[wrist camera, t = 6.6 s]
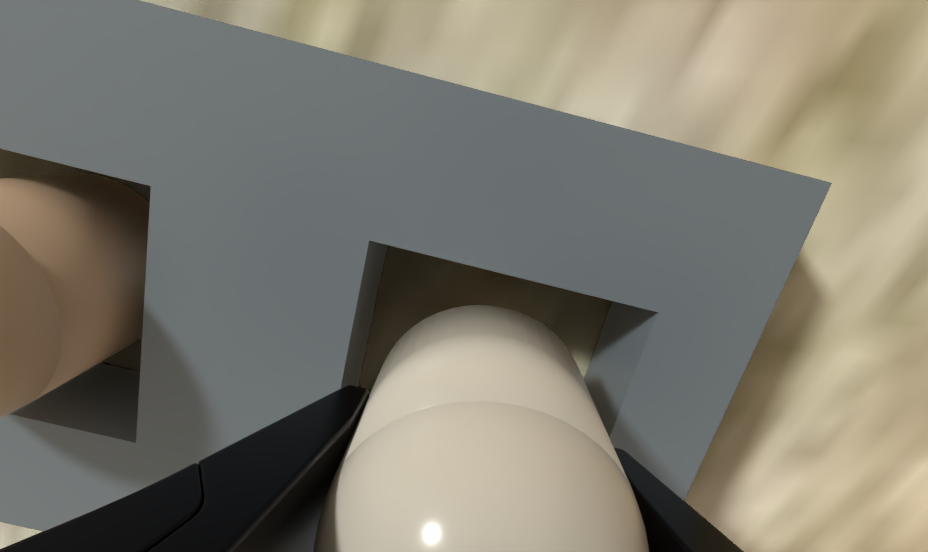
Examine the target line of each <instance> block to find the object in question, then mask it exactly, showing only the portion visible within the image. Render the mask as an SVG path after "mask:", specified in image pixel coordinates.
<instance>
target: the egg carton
mask: <svg viewBox="0 0 928 552" xmlns="http://www.w3.org/2000/svg"><path fill="white" fill-rule="evenodd" d="M0 149H4V150H8V151H12V152H16V153H20V154H24V155H28V156H32V157H36V158H40V159H44V160H48V161H52V162H56V163H60V164H64V165H68V166H72V167H76V168H80V169H84V170H88V171H92V172H96V173H100V174H104V175H108V176H112V177H116V178H120V179H124V180H128V181H132V182H136V183H140V184H144V185H148V186H151V190H150V203H149V202H148V201H146V200H145V199H144V198H143V197H142V196H140V195H139V194H138V193H136V192H135V191H133V190H132V189H130V188H128V187H127V186H125V185H123V184H121V183H119V182H116V181H114V180H112V179H109V178H106V177H102V176H99V175H93V174H86V173H70V174H56V175H42V176H28V177H15V178H1V179H0V522H3V523H8V524H12V525H17V526H21V527H26V528H30V529H35V530H40V531H46V530H48V529H50V528H53V527H55V526H58V525H60V524H62V523H65V522H67V521H70V520H72V519H74V518H77V517H79V516H82V515H84V514H86V513H89V512H91V511H93V510H96V509H98V508H100V507H103V506H105V505H107V504H109V503H112V502H114V501H116V500H119V499H121V498H123V497H125V496H128V495H130V494H132V493H135V492H137V491H139V490H141V489H143V488H145V487H147V486H149V485H151V484H153V483H155V482H157V481H159V480H162V479H164V478H166V477H168V476H170V475H172V474H174V473H176V472H178V471H180V470H182V469H184V468H186V467H188V466H189V465H191V464H193V463H197V464H198V462H199V461H200V460H202V459H204V458H206V457H207V456H209V455H211V454H213V453H215V452H217V451H219V450H221V449H223V448H225V447H227V446H229V445H231V444H233V443H235V442H237V441H239V440H241V439H243V438H245V437H247V436H249V435H251V434H252V433H254V432H256V431H258V430H260V429H262V428H264V427H266V426H268V425H270V424H272V423H274V422H276V421H278V420H280V419H282V418H284V417H286V416H288V415H290V414H292V413H294V412H296V411H297V410H299V409H301V408H303V407H305V406H307V405H309V404H311V403H313V402H315V401H317V400H319V399H321V398H323V397H325V396H327V395H329V394H331V393H333V392H335V391H337V390H339V389H340V388H342V387H344V386H347V385H353V386H357V387H358V385H359V380H360V375H361V370H362V366H363V361H364V356H365V351H366V346H367V341H368V337H369V332H370V327H371V322H372V317H373V312H374V307H375V303H376V298H377V293H378V288H379V283H380V278H381V274H382V269H383V264H384V259H385V254H386V249H387V245H389V246H393V247H397V248H401V249H405V250H409V251H414V252H418V253H422V254H426V255H430V256H434V257H438V258H442V259H446V260H450V261H454V262H458V263H462V264H466V265H470V266H474V267H478V268H482V269H486V270H490V271H494V272H498V273H502V274H506V275H510V276H514V277H518V278H522V279H526V280H530V281H534V282H538V283H542V284H546V285H550V286H554V287H558V288H562V289H566V290H570V291H574V292H578V293H582V294H586V295H590V296H594V297H598V298H602V299H606V300H610V301H612V303H611V306H610V309H609V312H608V314H607V317H606V320H605V323H604V326H603V328H602V331H601V334H600V337H599V340H598V342H597V345H596V348H595V351H594V353H593V356H592V359H591V362H590V365H589V367H588V370H587V373H586V376H585V379H584V382H585V384H586V386H587V388H588V391H589V393H590V395H591V397H592V400H593V402H594V404H595V406H596V409H597V411H598V413H599V416H600V418H601V420H602V422H603V425H604V427H605V429H606V431H607V434H608V436H609V438H610V440H611V443H612V445H613V447H615V448H619V449H622V450H625V451H626V452H627V453H628V454H629V455H631V456H632V457H633V458H634V459H635V460H636V461H638V462H639V463H640V464H641V465H642V466H643V467H645V468H646V469H647V470H648V471H649V472H651V473H652V474H653V475H654V476H655V477H656V478H658V479H659V480H660V481H661V482H662V483H663V484H665V485H666V486H667V487H668V488H669V489H671V490H672V491H673V492H674V493H675V494H676V495H678V496H679V497H680V498H681V499H682V500H683V501H684V500H685V497H686V495H687V493H688V491H689V489H690V487H691V485H692V482H693V480H694V478H695V476H696V474H697V472H698V470H699V467H700V465H701V463H702V461H703V459H704V457H705V455H706V452H707V450H708V448H709V446H710V444H711V442H712V439H713V437H714V435H715V433H716V431H717V429H718V427H719V424H720V422H721V420H722V418H723V416H724V414H725V412H726V409H727V407H728V405H729V403H730V401H731V399H732V396H733V394H734V392H735V390H736V388H737V386H738V384H739V381H740V379H741V377H742V375H743V373H744V371H745V369H746V366H747V364H748V362H749V360H750V358H751V356H752V353H753V351H754V349H755V347H756V345H757V343H758V341H759V338H760V336H761V334H762V332H763V330H764V328H765V326H766V323H767V321H768V319H769V317H770V315H771V313H772V310H773V308H774V306H775V304H776V302H777V300H778V298H779V295H780V293H781V291H782V289H783V287H784V285H785V283H786V280H787V278H788V276H789V274H790V272H791V270H792V267H793V265H794V263H795V261H796V259H797V257H798V255H799V252H800V250H801V248H802V246H803V244H804V242H805V240H806V237H807V235H808V233H809V231H810V229H811V227H812V224H813V222H814V220H815V218H816V216H817V214H818V212H819V209H820V207H821V205H822V203H823V201H824V199H825V197H826V194H827V192H828V190H829V188H830V186H831V184H832V183H830V182H826V181H822V180H818V179H814V178H811V177H807V176H803V175H799V174H795V173H792V172H788V171H784V170H780V169H776V168H773V167H769V166H765V165H761V164H757V163H754V162H750V161H746V160H742V159H739V158H735V157H731V156H727V155H723V154H720V153H716V152H712V151H708V150H704V149H701V148H697V147H693V146H689V145H685V144H682V143H678V142H674V141H670V140H666V139H663V138H659V137H655V136H651V135H647V134H644V133H640V132H636V131H632V130H629V129H625V128H621V127H617V126H613V125H610V124H606V123H602V122H598V121H594V120H591V119H587V118H583V117H579V116H575V115H572V114H568V113H564V112H560V111H556V110H553V109H549V108H545V107H541V106H538V105H534V104H530V103H526V102H522V101H519V100H515V99H511V98H507V97H503V96H500V95H496V94H492V93H488V92H484V91H481V90H477V89H473V88H469V87H465V86H462V85H458V84H454V83H450V82H446V81H443V80H439V79H435V78H431V77H428V76H424V75H420V74H416V73H412V72H409V71H405V70H401V69H397V68H393V67H390V66H386V65H382V64H378V63H374V62H371V61H367V60H363V59H359V58H355V57H352V56H348V55H344V54H340V53H337V52H333V51H329V50H325V49H321V48H318V47H314V46H310V45H306V44H302V43H299V42H295V41H291V40H287V39H283V38H280V37H276V36H272V35H268V34H264V33H261V32H257V31H253V30H249V29H245V28H242V27H238V26H234V25H230V24H227V23H223V22H219V21H215V20H211V19H208V18H204V17H200V16H196V15H192V14H189V13H185V12H181V11H177V10H173V9H170V8H166V7H162V6H158V5H154V4H151V3H147V2H143V1H139V0H0ZM141 338H142V347H141V365H140V372H137V371H133V370H129V369H125V368H120V367H116V366H112V365H107V364H103V363H100V362H102V361H103V360H105V359H107V358H109V357H110V356H112V355H114V354H115V353H117V352H119V351H121V350H122V349H124V348H126V347H128V346H129V345H131V344H133V343H135V342H136V341H138V340H140V339H141Z"/></svg>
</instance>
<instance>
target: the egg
mask: <svg viewBox="0 0 928 552" xmlns="http://www.w3.org/2000/svg"><path fill="white" fill-rule="evenodd" d="M313 552H649V547H648V541H647V535H646V530H645V526H644V522H643V519H642V516H641V513H640V510H639V507H638V504H637V501H636V498H635V495H634V492H633V490H632V488H631V486H630V483H629V481H628V479H627V477H626V474H625V472H624V470H623V467H622V465H621V463H620V461H619V458H618V456H617V454H616V452H615V449H614V447H613V445H612V443H611V440H610V438H609V436H608V434H607V431H606V429H605V427H604V425H603V422H602V420H601V418H600V416H599V413H598V411H597V409H596V406H595V404H594V402H593V400H592V397H591V395H590V393H589V391H588V388H587V386H586V384H585V382H584V379H583V377H582V375H581V373H580V370H579V368H578V366H577V364H576V362H575V360H574V358H573V356H572V354H571V353H570V351H569V350H568V348H567V347H566V345H565V344H564V343H563V342H562V341H561V340H560V338H559V337H558V336H557V335H556V334H555V333H553V332H552V331H551V330H550V329H549V328H547V327H546V326H545V325H543V324H542V323H540V322H539V321H537V320H535V319H534V318H532V317H530V316H527V315H525V314H523V313H521V312H518V311H514V310H511V309H508V308H503V307H498V306H491V305H469V306H461V307H455V308H450V309H447V310H444V311H441V312H438V313H436V314H434V315H431V316H429V317H427V318H425V319H423V320H422V321H420V322H419V323H417V324H416V325H414V326H413V327H412V328H410V329H409V330H408V331H407V332H406V333H405V334H403V335H402V337H401V338H400V339H399V340H398V341H397V342H396V343H395V344H394V346H393V347H392V349H391V350H390V352H389V353H388V355H387V357H386V359H385V361H384V363H383V366H382V368H381V370H380V372H379V375H378V377H377V379H376V382H375V384H374V386H373V388H372V391H371V393H370V395H369V398H368V400H367V402H366V405H365V407H364V409H363V412H362V414H361V416H360V419H359V421H358V423H357V425H356V428H355V430H354V432H353V435H352V437H351V439H350V441H349V444H348V446H347V448H346V451H345V453H344V455H343V457H342V460H341V462H340V464H339V466H338V469H337V471H336V473H335V476H334V478H333V480H332V483H331V485H330V487H329V489H328V492H327V495H326V498H325V501H324V504H323V507H322V510H321V514H320V517H319V521H318V524H317V530H316V536H315V542H314V551H313Z"/></svg>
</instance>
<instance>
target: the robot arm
mask: <svg viewBox="0 0 928 552" xmlns="http://www.w3.org/2000/svg"><path fill="white" fill-rule="evenodd" d="M368 398H369V391H368V389H365V388H361V387H357V386H353V385H347V386H344V387H342V388H340V389H339V390H337V391H335V392H333V393H331V394H329V395H327V396H325V397H323V398H321V399H319V400H317V401H315V402H313V403H311V404H309V405H307V406H305V407H303V408H301V409H299V410H297V411H296V412H294V413H292V414H290V415H288V416H286V417H284V418H282V419H280V420H278V421H276V422H274V423H272V424H270V425H268V426H266V427H264V428H262V429H260V430H258V431H256V432H254V433H252V434H251V435H249V436H247V437H245V438H243V439H241V440H239V441H237V442H235V443H233V444H231V445H229V446H227V447H225V448H223V449H221V450H219V451H217V452H215V453H213V454H211V455H209V456H207V457H206V458H204V459H202V460H200V461H199V462H198V464H197V463H193V464H191V465H189V466H188V467H186V468H184V469H182V470H180V471H178V472H176V473H174V474H172V475H170V476H168V477H166V478H164V479H162V480H159V481H157V482H155V483H153V484H151V485H149V486H147V487H145V488H143V489H141V490H139V491H137V492H135V493H132V494H130V495H128V496H125V497H123V498H121V499H119V500H116V501H114V502H112V503H109V504H107V505H105V506H103V507H100V508H98V509H96V510H93V511H91V512H89V513H86V514H84V515H82V516H79V517H77V518H74V519H72V520H70V521H67V522H65V523H62V524H60V525H58V526H55V527H53V528H50V529H48V530H46V531H43V532H41V533H38V534H36V535H34V536H31V537H29V538H26V539H24V540H22V541H19V542H17V543H14V544H12V545H10V546H7V547H5V548H2V549H0V552H313V551H314V542H315V536H316V530H317V524H318V521H319V517H320V514H321V510H322V507H323V504H324V501H325V498H326V495H327V492H328V489H329V487H330V485H331V483H332V480H333V478H334V476H335V473H336V471H337V469H338V466H339V464H340V462H341V460H342V457H343V455H344V453H345V451H346V448H347V446H348V444H349V441H350V439H351V437H352V435H353V432H354V430H355V428H356V425H357V423H358V421H359V419H360V416H361V414H362V412H363V409H364V407H365V405H366V402H367V400H368ZM614 449H615V452H616V454H617V456H618V458H619V461H620V463H621V465H622V467H623V470H624V472H625V474H626V477H627V479H628V481H629V483H630V486H631V488H632V490H633V492H634V495H635V498H636V501H637V504H638V507H639V510H640V513H641V516H642V519H643V522H644V526H645V530H646V535H647V541H648V547H649V552H743V551H742V550H741V549H740V548H739V547H738V546H736V545H735V544H734V543H733V542H732V541H731V540H729V539H728V538H727V537H726V536H725V535H723V534H722V533H721V532H720V531H719V530H718V529H716V528H715V527H714V526H713V525H712V524H711V523H709V522H708V521H707V520H706V519H705V518H703V517H702V516H701V515H700V514H699V513H698V512H696V511H695V510H694V509H693V508H692V507H691V506H689V505H688V504H687V503H686V502H685V501H683V500H682V499H681V498H680V497H679V496H678V495H676V494H675V493H674V492H673V491H672V490H671V489H669V488H668V487H667V486H666V485H665V484H663V483H662V482H661V481H660V480H659V479H658V478H656V477H655V476H654V475H653V474H652V473H651V472H649V471H648V470H647V469H646V468H645V467H643V466H642V465H641V464H640V463H639V462H638V461H636V460H635V459H634V458H633V457H632V456H631V455H629V454H628V453H627V452H626V451H625V450H622V449H619V448H615V447H614Z"/></svg>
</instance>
